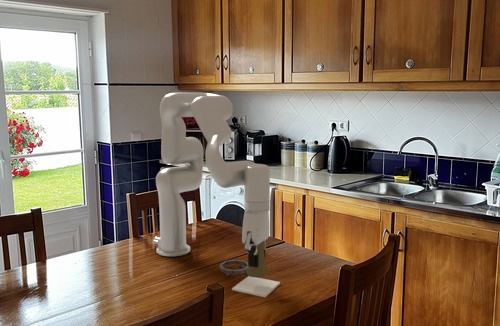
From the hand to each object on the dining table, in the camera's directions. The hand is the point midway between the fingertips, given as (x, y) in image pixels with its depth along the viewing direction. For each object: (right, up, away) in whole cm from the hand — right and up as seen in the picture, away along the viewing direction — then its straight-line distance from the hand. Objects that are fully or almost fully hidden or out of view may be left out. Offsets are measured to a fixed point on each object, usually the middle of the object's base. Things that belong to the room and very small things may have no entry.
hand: (256, 263), depth 146 cm
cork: (0, -3, 0) cm, 3 cm away
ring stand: (-7, -6, +14) cm, 16 cm away
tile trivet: (0, -8, +1) cm, 8 cm away
